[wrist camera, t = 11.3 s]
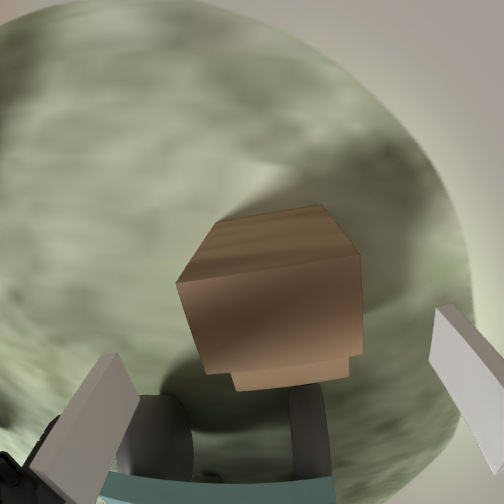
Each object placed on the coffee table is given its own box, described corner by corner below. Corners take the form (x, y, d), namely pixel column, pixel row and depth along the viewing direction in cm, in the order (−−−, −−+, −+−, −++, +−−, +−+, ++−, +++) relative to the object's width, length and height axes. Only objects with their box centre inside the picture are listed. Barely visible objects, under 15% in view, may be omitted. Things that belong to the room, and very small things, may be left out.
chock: (334, 325, 19) (360, 418, 12) (243, 338, 20) (230, 434, 13) (321, 204, 17) (360, 254, 9) (215, 222, 18) (175, 283, 10)
